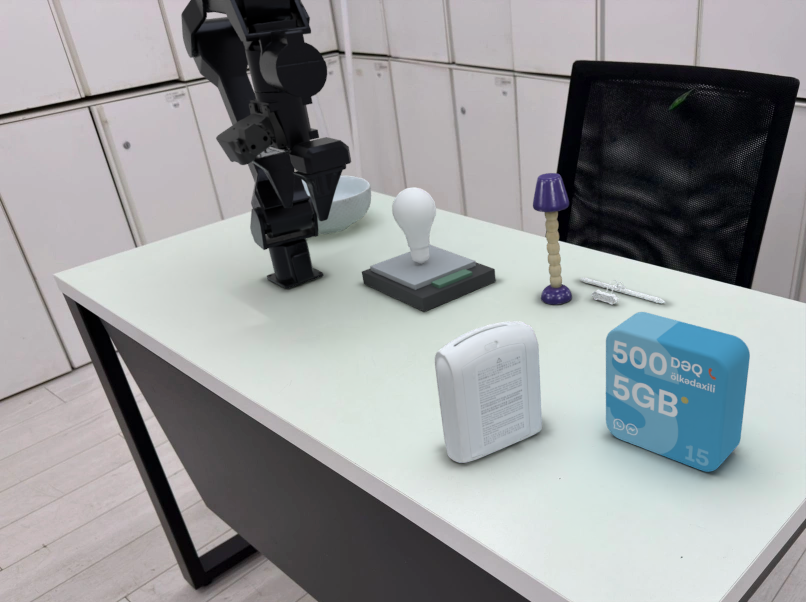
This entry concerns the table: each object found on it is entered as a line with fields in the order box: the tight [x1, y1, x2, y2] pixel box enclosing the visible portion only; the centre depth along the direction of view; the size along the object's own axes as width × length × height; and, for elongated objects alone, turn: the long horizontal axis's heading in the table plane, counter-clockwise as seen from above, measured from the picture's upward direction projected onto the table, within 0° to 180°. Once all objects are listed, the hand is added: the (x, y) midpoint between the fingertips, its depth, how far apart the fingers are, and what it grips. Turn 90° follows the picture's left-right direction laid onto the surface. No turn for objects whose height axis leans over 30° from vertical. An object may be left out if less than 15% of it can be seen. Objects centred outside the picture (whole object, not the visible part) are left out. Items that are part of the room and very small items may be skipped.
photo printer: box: [434, 320, 543, 464], centre depth 70 cm, size 10×4×12 cm, turn 123°
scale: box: [361, 243, 497, 312], centre depth 108 cm, size 15×13×3 cm
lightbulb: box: [391, 186, 437, 264], centre depth 105 cm, size 6×6×11 cm
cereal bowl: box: [302, 174, 372, 235], centre depth 132 cm, size 17×17×7 cm
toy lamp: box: [532, 172, 573, 305], centre depth 97 cm, size 5×5×17 cm
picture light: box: [579, 277, 666, 305], centre depth 100 cm, size 14×4×2 cm, turn 48°
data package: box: [605, 311, 751, 473], centre depth 68 cm, size 12×4×12 cm, turn 51°
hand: (305, 213), depth 98 cm, fingers open, 9 cm apart
